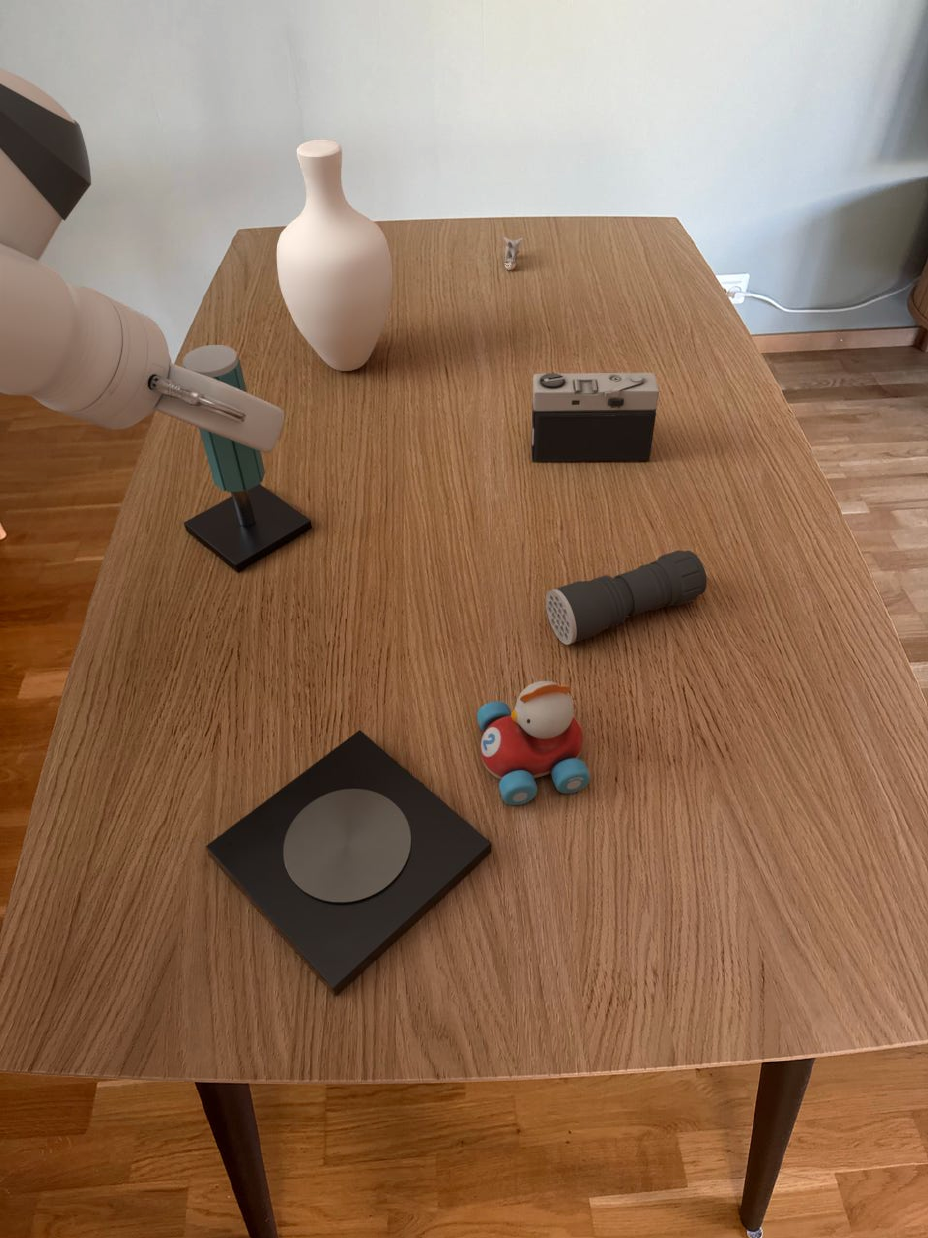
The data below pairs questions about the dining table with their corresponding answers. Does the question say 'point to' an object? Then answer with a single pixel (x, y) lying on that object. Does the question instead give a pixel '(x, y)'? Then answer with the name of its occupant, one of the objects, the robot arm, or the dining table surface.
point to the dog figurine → (511, 252)
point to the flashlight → (624, 595)
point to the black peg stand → (248, 527)
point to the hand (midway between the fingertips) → (229, 415)
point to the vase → (334, 265)
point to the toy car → (533, 742)
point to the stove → (348, 858)
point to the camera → (593, 416)
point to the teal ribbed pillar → (226, 457)
